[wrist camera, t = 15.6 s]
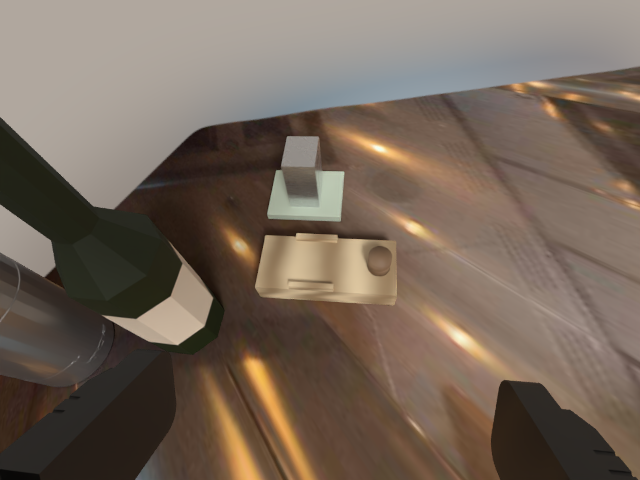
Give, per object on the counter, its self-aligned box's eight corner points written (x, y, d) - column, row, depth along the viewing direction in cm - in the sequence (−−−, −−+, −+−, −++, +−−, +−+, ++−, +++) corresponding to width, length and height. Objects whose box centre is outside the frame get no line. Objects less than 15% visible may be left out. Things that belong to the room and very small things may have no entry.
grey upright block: (290, 206, 49) (281, 166, 42) (296, 175, 52) (287, 132, 45) (319, 207, 48) (314, 167, 41) (323, 176, 51) (319, 133, 44)
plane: (260, 296, 43) (249, 278, 39) (270, 247, 47) (261, 224, 42) (394, 305, 41) (399, 286, 37) (393, 252, 45) (398, 230, 40)
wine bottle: (220, 280, 45) (47, 49, 19) (228, 344, 41) (20, 157, 15) (154, 298, 44) (-115, 84, 19) (156, 365, 40) (-192, 207, 14)
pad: (268, 218, 49) (267, 214, 48) (277, 174, 53) (276, 170, 52) (340, 221, 48) (340, 217, 47) (344, 176, 52) (344, 171, 51)
